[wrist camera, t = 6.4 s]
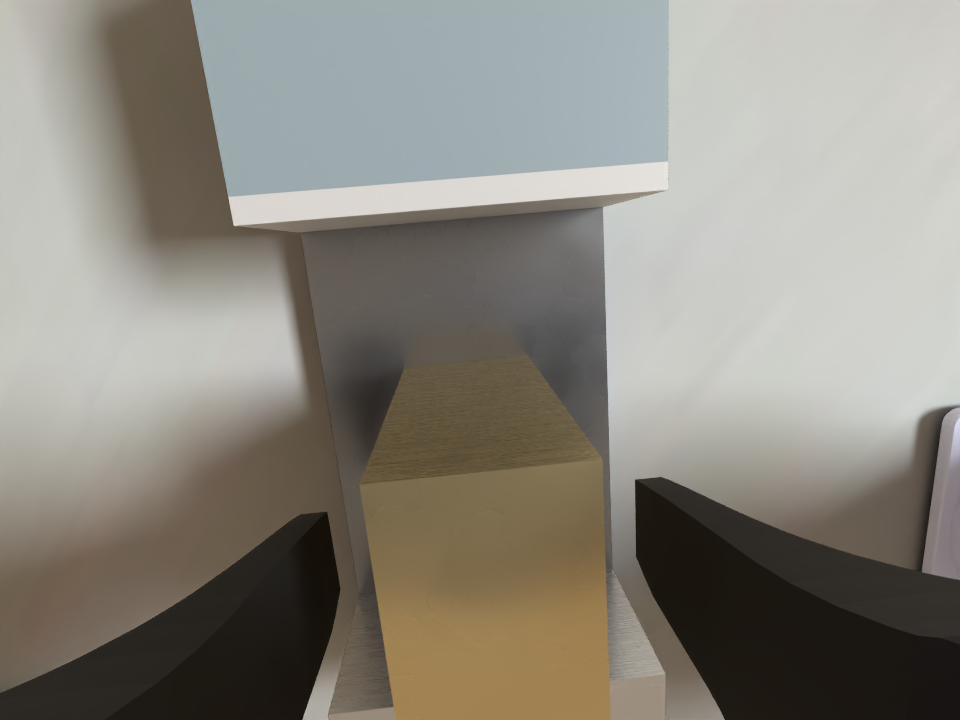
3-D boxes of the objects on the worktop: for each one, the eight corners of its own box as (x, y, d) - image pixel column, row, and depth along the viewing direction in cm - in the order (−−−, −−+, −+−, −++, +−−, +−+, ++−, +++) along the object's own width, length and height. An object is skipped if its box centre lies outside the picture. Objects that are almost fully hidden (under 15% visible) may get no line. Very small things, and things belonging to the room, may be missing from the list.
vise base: (584, -130, 12) (668, -366, 7) (606, 616, 17) (665, 756, 12) (254, -111, 12) (126, -345, 7) (373, 643, 17) (343, 797, 12)
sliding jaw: (595, -105, 12) (669, -285, 8) (603, 206, 13) (667, 190, 9) (248, -85, 11) (141, -261, 7) (299, 232, 13) (233, 226, 9)
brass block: (528, 355, 14) (602, 459, 7) (540, 544, 15) (612, 781, 8) (404, 367, 14) (359, 485, 7) (427, 556, 15) (409, 808, 8)
